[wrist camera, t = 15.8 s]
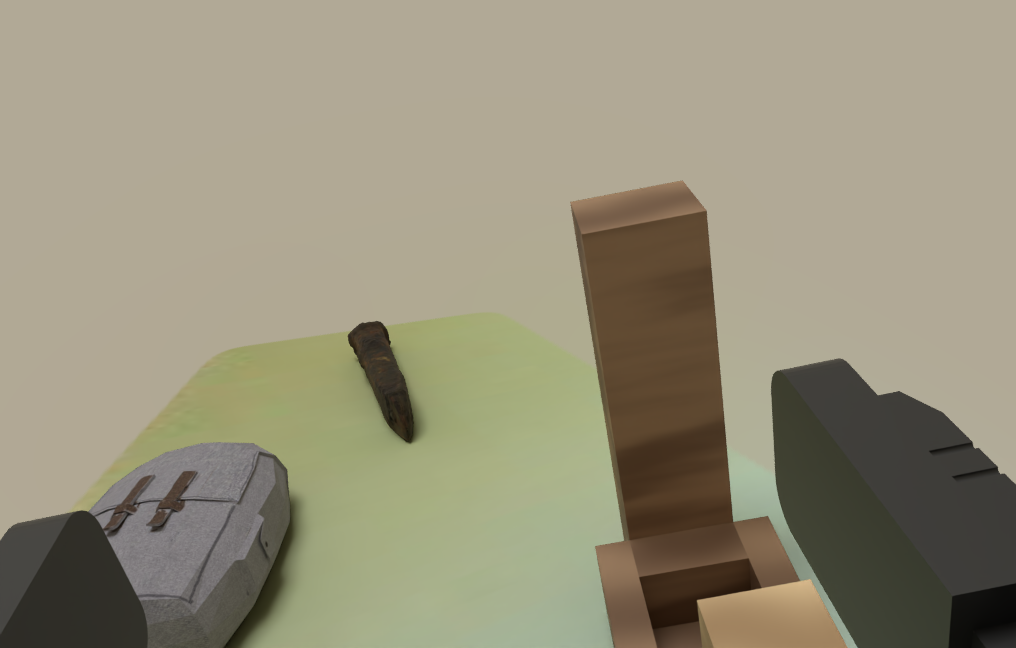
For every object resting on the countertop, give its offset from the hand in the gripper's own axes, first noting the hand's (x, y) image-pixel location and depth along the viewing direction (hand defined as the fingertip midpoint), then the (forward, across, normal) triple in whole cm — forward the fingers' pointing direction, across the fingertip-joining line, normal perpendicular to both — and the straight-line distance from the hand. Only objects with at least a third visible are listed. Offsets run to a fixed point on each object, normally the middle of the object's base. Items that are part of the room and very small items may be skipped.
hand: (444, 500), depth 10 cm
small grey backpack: (+41, +25, +34) cm, 58 cm away
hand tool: (+61, +11, +34) cm, 71 cm away
